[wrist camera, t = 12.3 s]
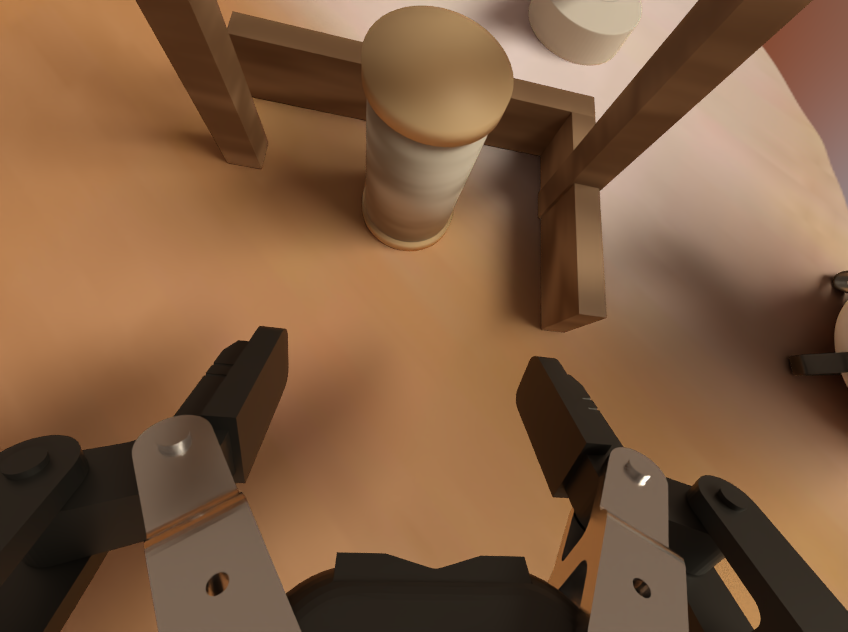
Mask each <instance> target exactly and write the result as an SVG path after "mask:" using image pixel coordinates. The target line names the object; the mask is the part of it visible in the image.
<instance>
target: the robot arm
mask: <svg viewBox="0 0 848 632" xmlns="http://www.w3.org/2000/svg"><path fill="white" fill-rule="evenodd" d="M287 377H288V333H287V330H286V329H283V328H274V327H265V326H259V327H258V329H257V330H256V331H255V333H254V335H253V336H252V338H251V339H250V341H240V340H238V341H237V342H235V343H233V344H232V345H230V346H229V347H227V348H226V349H224V350H223V351H222V352H221V353H220V355H219V356H218V358H217V359H216V360H215V362H214V365H212V366H211V367H210V368H209V370H208V371H207V372H206V376H203V378H202V379H201V380H200V382H199V383H198V384H197V386H196V387H195V388H194V390H193V391H192V392H191V394H190V395H189V397H188V398H187V399H186V401H185V402H184V403H183V405H182V406H181V407H180V409H179V410H178V411H177V413H176V414H175V415H174V417H171V418H167V419H165V420H162V421H160V422H158V423H156V424H154V425H153V426H151V427H149V428H148V429H147V430H145V431H144V432H143V433H142V434H141V435H140V436H139V437H138V439H137V440H134V441H131V442H127V443H122V444H116V445H111V446H105V447H99V448H93V449H87V450H82V449H81V447H80V445H79V443H78V442H77V441H76V440H75V439H73V438H71V437H68V436H63V435H50V436H42V437H38V438H33V439H30V440H27V441H24V442H21V443H19V444H16V445H14V446H12V447H9V448H7V449H5V450H4V451H2V452H0V632H60V631H61V630H62V628H63V626H64V625H65V623H66V621H67V620H68V618H69V616H70V615H71V613H72V611H73V610H74V608H75V606H76V605H77V603H78V601H79V600H80V598H81V596H82V595H83V593H84V591H85V590H86V588H87V586H88V585H89V583H90V581H91V580H92V578H93V576H94V575H95V573H96V571H97V570H98V568H99V566H100V565H101V563H102V561H103V560H104V558H105V556H106V555H107V553H108V551H110V550H113V549H117V548H121V547H124V546H128V545H132V544H135V543H139V542H143V541H144V550H145V557H146V563H147V569H148V575H149V580H150V586H151V592H152V598H153V603H154V609H155V615H156V621H157V627H158V632H848V611H847V610H846V609H845V607H844V606H843V605H842V604H841V603H840V602H839V600H838V599H837V598H836V597H835V596H834V595H833V593H832V592H831V591H830V590H829V589H828V588H827V586H826V585H825V584H824V583H823V582H822V581H821V579H820V578H819V577H818V576H817V575H816V574H815V573H814V571H813V570H812V569H811V568H810V567H809V566H808V564H807V563H806V562H805V561H804V560H803V559H802V557H801V556H800V555H799V554H798V553H797V552H796V550H795V549H794V548H793V547H792V546H791V545H790V543H789V542H788V541H787V540H786V539H785V538H784V536H783V535H782V534H781V533H780V532H779V531H778V529H777V528H776V527H775V526H774V525H773V524H772V522H771V521H770V520H769V519H768V518H767V517H766V515H765V514H764V513H763V512H762V511H761V510H760V508H759V507H758V506H757V505H756V504H755V503H754V502H753V501H752V500H751V499H750V498H749V497H748V496H747V495H746V494H745V493H744V492H742V491H741V490H740V489H738V488H737V487H736V486H734V485H732V484H731V483H729V482H727V481H725V480H723V479H721V478H718V477H715V476H710V475H705V476H702V477H700V478H699V479H698V480H697V481H696V483H695V484H694V485H693V486H689V485H687V484H684V483H681V482H678V481H675V480H672V479H669V478H666V477H665V475H664V474H663V472H662V471H661V470H660V469H659V467H658V466H657V465H656V464H655V463H654V462H652V461H651V460H650V459H649V458H647V457H646V456H645V455H643V454H641V453H639V452H637V451H635V450H632V449H629V448H624V447H623V446H622V444H621V443H620V441H619V440H618V438H617V437H616V435H615V434H614V432H613V431H612V429H611V428H610V426H609V425H608V423H607V422H606V420H605V419H604V417H603V416H602V414H601V413H600V411H598V410H597V407H596V405H595V404H594V402H593V401H592V400H590V396H589V395H588V393H587V392H586V390H585V389H584V387H583V386H582V385H581V384H580V383H579V382H578V381H576V380H575V379H574V378H573V377H572V376H571V375H567V373H566V372H565V370H564V369H563V367H562V365H561V364H560V362H559V361H558V360H557V359H555V358H546V357H537V356H534V357H532V358H531V359H530V361H529V363H528V366H527V368H526V370H525V373H524V375H523V378H522V380H521V382H520V385H519V387H518V390H517V394H516V405H517V408H518V411H519V413H520V416H521V418H522V421H523V424H524V426H525V429H526V431H527V434H528V436H529V439H530V441H531V444H532V446H533V449H534V451H535V454H536V456H537V459H538V461H539V464H540V466H541V469H542V471H543V474H544V476H545V479H546V481H547V484H548V486H549V489H550V491H551V494H552V496H553V497H559V498H569V500H570V502H571V504H572V507H573V508H572V509H571V511H570V513H569V516H568V520H567V523H566V527H565V530H564V534H563V538H562V541H561V545H560V548H559V552H558V555H557V559H556V563H555V566H554V569H553V571H552V574H551V576H550V578H549V580H548V582H546V581H544V580H542V579H540V578H538V577H536V576H534V575H532V574H529V572H528V568H527V565H526V561H525V558H524V557H513V556H479V557H475V558H472V559H469V560H466V561H462V562H459V563H456V564H453V565H449V566H446V567H443V568H439V569H433V568H429V567H426V566H423V565H420V564H417V563H413V562H410V561H407V560H404V559H401V558H398V557H395V556H392V555H389V554H382V553H338V552H337V557H336V564H335V568H333V569H329V570H326V571H323V572H321V573H318V574H316V575H314V576H311V577H310V578H308V579H306V580H305V581H303V582H301V583H299V584H298V585H297V586H295V587H294V588H293V589H291V590H290V591H289V592H287V593H285V591H284V589H283V586H282V584H281V581H280V579H279V577H278V574H277V572H276V569H275V567H274V565H273V562H272V560H271V557H270V555H269V552H268V550H267V548H266V545H265V543H264V540H263V538H262V536H261V533H260V531H259V528H258V526H257V524H256V521H255V519H254V516H253V514H252V511H251V509H250V507H249V504H248V502H247V500H246V498H245V496H244V494H243V493H242V492H240V493H239V491H238V489H237V487H236V485H235V483H245V482H246V480H247V477H248V475H249V473H250V470H251V468H252V465H253V463H254V461H255V458H256V456H257V453H258V451H259V449H260V446H261V444H262V441H263V439H264V437H265V434H266V432H267V429H268V427H269V425H270V422H271V420H272V417H273V415H274V413H275V410H276V408H277V405H278V403H279V401H280V398H281V396H282V393H283V391H284V389H285V386H286V382H287ZM724 558H726V559H727V561H728V562H729V564H730V565H731V567H732V568H733V570H734V571H735V572H736V574H737V575H738V577H739V578H740V580H741V581H742V583H743V584H744V586H745V587H746V588H747V590H748V591H749V593H750V594H751V596H752V597H753V599H754V600H755V602H756V604H757V606H758V609H759V612H760V617H761V621H760V625H759V627H758V628H756V629H755V630H754V629H753V627H752V626H751V624H750V623H749V621H748V620H747V618H746V616H745V615H744V613H743V612H742V610H741V609H740V607H739V606H738V604H737V602H736V601H735V599H734V598H733V596H732V595H731V593H730V592H729V590H728V589H727V587H726V585H725V584H724V582H723V581H722V579H721V578H720V576H719V575H718V573H717V571H716V570H715V568H714V566H715V565H716V564H717V563H719V562H720V561H721V560H722V559H724Z"/></svg>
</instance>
